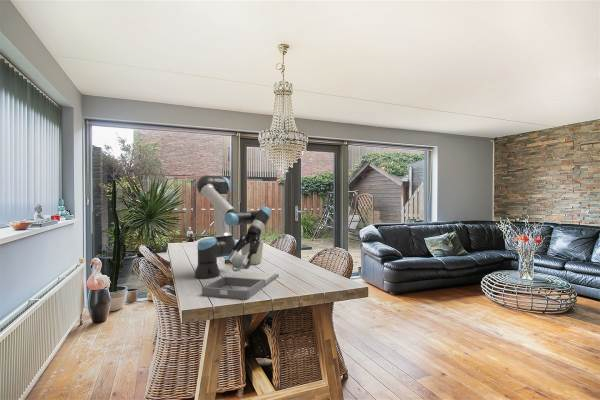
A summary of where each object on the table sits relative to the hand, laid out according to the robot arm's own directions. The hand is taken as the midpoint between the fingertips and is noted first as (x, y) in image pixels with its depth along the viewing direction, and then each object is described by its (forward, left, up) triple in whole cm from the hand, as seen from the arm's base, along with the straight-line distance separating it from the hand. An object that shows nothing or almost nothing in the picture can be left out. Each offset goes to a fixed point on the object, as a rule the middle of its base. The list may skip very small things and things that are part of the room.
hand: (237, 262), depth 176 cm
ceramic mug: (+1, +2, -4) cm, 5 cm away
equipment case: (0, +9, -15) cm, 17 cm away
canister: (-20, +65, -15) cm, 69 cm away
